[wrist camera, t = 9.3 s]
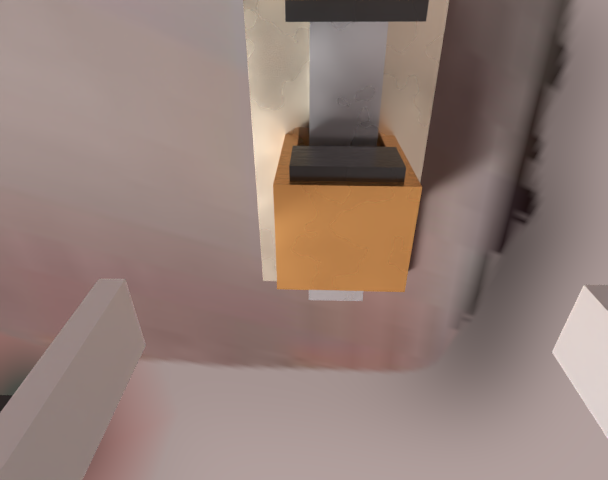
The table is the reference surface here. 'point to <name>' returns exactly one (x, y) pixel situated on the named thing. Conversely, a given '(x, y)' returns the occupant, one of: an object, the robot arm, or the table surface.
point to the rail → (338, 85)
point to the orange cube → (344, 216)
